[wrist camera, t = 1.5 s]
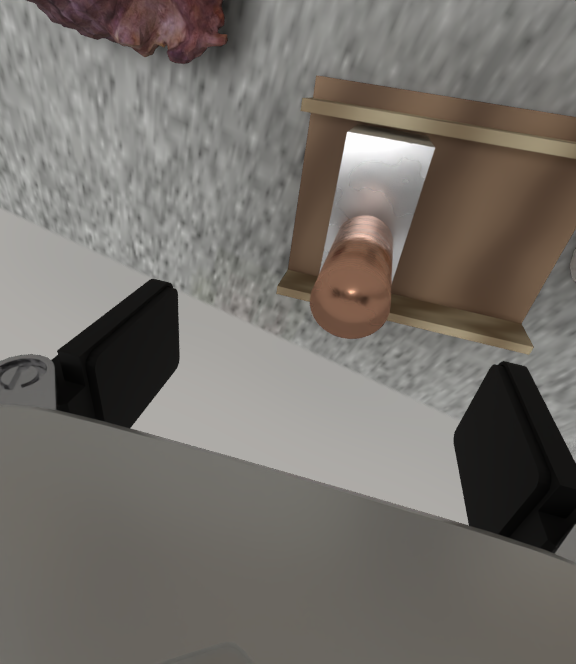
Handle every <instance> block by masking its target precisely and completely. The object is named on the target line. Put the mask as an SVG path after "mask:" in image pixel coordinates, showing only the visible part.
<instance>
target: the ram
mask: <svg viewBox="0 0 576 664" xmlns="http://www.w3.org/2000/svg"><path fill="white" fill-rule="evenodd" d="M434 150H435V147H434V145H433V144H432V142H431V141H430V139H429V138H428V136H426V135H420V134H415V133H409V132H403V131H398V130H392V129H386V128H380V127H375V126H369V125H363V124H358V125H356V126H355V127H353V128H352V129H351V130H349V131H348V132H347V136H346V141H345V146H344V151H343V156H342V161H341V166H340V171H339V176H338V181H337V186H336V192H335V197H334V202H333V207H332V212H331V217H330V222H329V227H328V232H327V237H326V242H325V247H324V252H323V257H322V262H321V267H320V272H319V276H318V278H317V280H316V282H315V284H314V287H313V289H312V291H311V295H310V308H311V311H312V313H311V316H314V318H315V320H316V321H317V323H318V324H319V325H320V326H321V327H322V328H323V329H324V330H326V331H327V332H329V333H331V334H333V335H335V336H338V337H341V338H347V339H357V338H362V337H366V336H368V335H371V334H373V333H374V332H376V331H377V330H379V329H380V328H381V327H382V326H383V324H384V323H385V322H386V320H387V318H388V316H389V313H390V306H391V284H392V281H393V278H394V275H395V272H396V269H397V265H398V262H399V259H400V256H401V253H402V250H403V247H404V244H405V240H406V237H407V234H408V231H409V228H410V225H411V222H412V218H413V215H414V212H415V209H416V206H417V203H418V200H419V197H420V193H421V190H422V187H423V184H424V181H425V178H426V175H427V172H428V168H429V165H430V162H431V159H432V156H433V153H434Z"/></svg>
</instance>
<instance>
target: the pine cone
mask: <svg viewBox="0 0 576 664" xmlns="http://www.w3.org/2000/svg"><path fill="white" fill-rule="evenodd" d="M27 1H30V2H33V3H35V4H37V6H38V8H39V9H40V10H42V11H43V12H44V13H45V14H47V16H48V17H49V19H50V20H51V21H52V22H54V23H58V24H62V26H63V27H67V28H71V29H76V30H77V31H78V32H79V33H80V34H81V35H84V36H87V37H90V38H93V39H97V40H98V39H101V38H106V39H108V40H110V41H112V42H116V43H119V44H121V45H122V46H128V47H131V48H133V49H134V50H135V51H137V52H138V53H140V54H141V55H142V56H144V57H147V56H149V55H152V54H153V53H154V51H155V49H156V48H157V47H158V46H159V45H160V46H162V47H165V46H166V45H167V46H168V51H167V54H168V57H169V59H170V61H172V62H175V63H181V64H185V63H189V62H191V61H192V60H193V59H194V58H196V57H199V56H201V55H202V53H203V52H204V51H205V50H206V49H207V47H211V46H222V45H224V44H226V42H227V41H228V40H227V35H226V34H219V33H218V30H219V28H221V27H222V26H224V24H225V17H224V14H223V10H222V7H221V6H222V2H223V0H27Z"/></svg>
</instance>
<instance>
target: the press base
mask: <svg viewBox="0 0 576 664" xmlns="http://www.w3.org/2000/svg"><path fill="white" fill-rule="evenodd" d="M301 111H304V112H310V113H311V115H310V122H309V129H308V136H307V143H306V149H305V156H304V163H303V170H302V177H301V184H300V190H299V197H298V204H297V211H296V218H295V225H294V231H293V238H292V245H291V252H290V259H289V265H288V270H287V272H286V273H285V275H284V277H283V278H282V280H281V281H280V283H279V284H278V286H277V293H276V294H280V295H284V296H288V297H292V298H296V299H300V300H305V301H309V302H310V295H311V291H312V289H313V287H314V284H315V282H316V280H317V278H318V276H319V272H320V267H321V262H322V257H323V252H324V247H325V242H326V237H327V232H328V227H329V222H330V217H331V212H332V207H333V202H334V197H335V192H336V186H337V181H338V176H339V171H340V166H341V161H342V156H343V151H344V146H345V141H346V136H347V132H348V131H349V130H351V129H352V128H353V127H355V126H356V125H358V124H363V125H369V126H375V127H380V128H386V129H392V130H398V131H403V132H409V133H415V134H420V135H426V136H428V138H429V139H430V141H431V142H432V144H433V145H434V147H435V150H434V153H433V156H432V159H431V162H430V165H429V168H428V172H427V175H426V178H425V181H424V184H423V187H422V190H421V193H420V197H419V200H418V203H417V206H416V209H415V212H414V215H413V218H412V222H411V225H410V228H409V231H408V234H407V237H406V240H405V244H404V247H403V250H402V253H401V256H400V259H399V262H398V265H397V269H396V272H395V275H394V278H393V281H392V284H391V306H390V313H389V316H388V318H387V321H392V322H396V323H400V324H404V325H408V326H412V327H417V328H421V329H425V330H429V331H433V332H437V333H441V334H446V335H450V336H454V337H458V338H462V339H466V340H470V341H475V342H479V343H483V344H487V345H491V346H495V347H499V348H504V349H508V350H512V351H516V352H520V353H524V354H528V355H529V354H530V353H531V351H532V349H533V348H534V347H533V345H532V343H531V341H530V339H529V337H528V335H527V333H526V332H525V330H524V328H523V326H522V322H523V320H524V318H525V316H526V315H527V313H528V311H529V309H530V308H531V306H532V304H533V302H534V301H535V299H536V297H537V295H538V294H539V292H540V290H541V288H542V287H543V285H544V283H545V281H546V280H547V278H548V276H549V274H550V273H551V271H552V269H553V267H554V266H555V264H556V262H557V260H558V259H559V257H560V255H561V253H562V251H563V250H564V248H565V246H566V244H567V243H568V241H569V239H570V237H571V236H572V234H573V232H574V230H575V229H576V117H571V116H565V115H559V114H553V113H546V112H540V111H534V110H528V109H522V108H515V107H509V106H503V105H497V104H490V103H484V102H478V101H472V100H466V99H459V98H453V97H447V96H441V95H435V94H428V93H422V92H416V91H410V90H403V89H397V88H391V87H385V86H379V85H372V84H366V83H360V82H354V81H348V80H341V79H335V78H329V77H323V76H316V81H315V88H314V95H313V98H302V105H301Z"/></svg>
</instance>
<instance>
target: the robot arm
mask: <svg viewBox="0 0 576 664" xmlns="http://www.w3.org/2000/svg"><path fill="white" fill-rule="evenodd" d="M57 352H58V355H57V356H56V357H55V358H53V359H52V360H50V359H49V358H47V357H44V356H41V355H33V354H30V355H29V354H28V355H19V356H15V357H10V358H7V359H5V360H2V361H0V664H576V463H575V461H574V459H573V457H572V455H571V453H570V451H569V449H568V447H567V445H566V443H565V441H564V439H563V437H562V436H561V434H560V432H559V430H558V428H557V426H556V424H555V422H554V420H553V418H552V416H551V414H550V412H549V410H548V408H547V406H546V404H545V402H544V400H543V398H542V396H541V394H540V392H539V390H538V388H537V386H536V384H535V382H534V380H533V378H532V376H531V374H530V372H529V370H528V369H527V367H525V366H522V365H518V364H513V363H509V362H505V361H503V362H501V363H499V365H495V364H494V365H492V366H491V368H490V369H489V371H488V373H487V374H486V376H485V378H484V380H483V382H482V384H481V385H480V387H479V389H478V391H477V393H476V394H475V396H474V398H473V400H472V402H471V403H470V405H469V407H468V409H467V411H466V412H465V414H464V416H463V418H462V420H461V421H460V423H459V425H458V427H457V429H456V431H455V434H454V447H455V452H456V458H457V463H458V468H459V474H460V479H461V485H462V490H463V495H464V501H465V506H466V512H467V517H468V523H469V526H468V525H465V524H462V523H458V522H455V521H452V520H449V519H445V518H442V517H439V516H435V515H432V514H428V513H425V512H422V511H418V510H415V509H411V508H407V507H404V506H401V505H397V504H393V503H391V502H387V501H383V500H380V499H377V498H373V497H370V496H366V495H363V494H360V493H356V492H353V491H349V490H346V489H343V488H339V487H335V486H332V485H328V484H325V483H321V482H318V481H315V480H311V479H308V478H304V477H301V476H297V475H294V474H290V473H287V472H283V471H279V470H276V469H273V468H269V467H266V466H262V465H259V464H255V463H252V462H248V461H245V460H241V459H238V458H234V457H231V456H227V455H223V454H220V453H216V452H213V451H209V450H206V449H202V448H198V447H195V446H191V445H188V444H184V443H180V442H177V441H173V440H170V439H166V438H162V437H159V436H155V435H152V434H148V433H144V432H141V431H137V430H134V429H130V428H131V427H132V425H133V424H134V423H135V421H136V420H137V419H138V418H139V416H140V415H141V414H142V412H143V411H144V410H145V408H146V407H147V406H148V405H149V403H150V402H151V401H152V400H153V398H154V397H155V396H156V395H157V393H158V392H159V391H160V389H161V388H162V387H163V386H164V384H165V383H166V382H167V380H168V379H169V378H170V377H171V375H172V374H173V373H174V371H175V370H176V369H177V367H178V364H179V323H178V292H177V290H176V289H174V288H173V286H172V284H171V283H169V282H165V281H161V280H156V279H151V280H149V281H148V282H146V283H145V284H144V285H143V286H141V287H140V288H138V289H137V290H136V291H135V292H133V293H132V294H131V295H129V296H128V297H127V298H126V299H124V300H123V301H121V302H120V303H119V304H118V305H116V306H115V307H114V308H112V309H111V310H110V311H109V312H107V313H106V314H105V315H104V316H102V317H101V318H99V319H98V320H97V321H96V322H94V323H93V324H92V325H90V326H89V327H88V328H86V329H85V330H84V331H82V332H81V333H80V334H78V335H77V336H76V337H74V338H73V339H72V340H71V341H69V342H68V343H67V344H65V345H64V346H63V347H61V348H60V349H59V350H58V351H57Z"/></svg>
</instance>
